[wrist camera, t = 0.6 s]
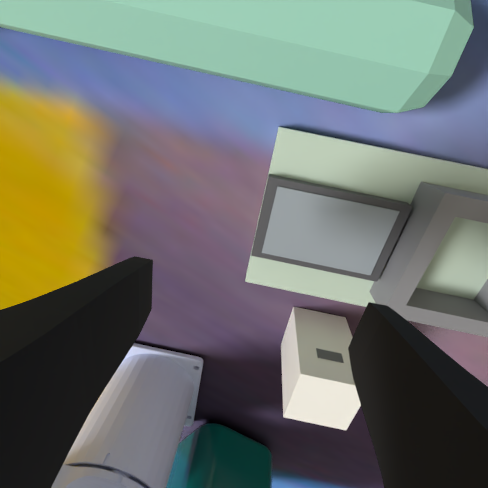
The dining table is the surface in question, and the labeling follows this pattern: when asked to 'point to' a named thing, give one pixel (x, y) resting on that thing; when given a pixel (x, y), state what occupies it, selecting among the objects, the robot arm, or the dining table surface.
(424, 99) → the container
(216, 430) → the green bottle
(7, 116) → the dining table surface
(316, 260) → the outlet plate
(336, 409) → the block
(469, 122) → the dining table surface
